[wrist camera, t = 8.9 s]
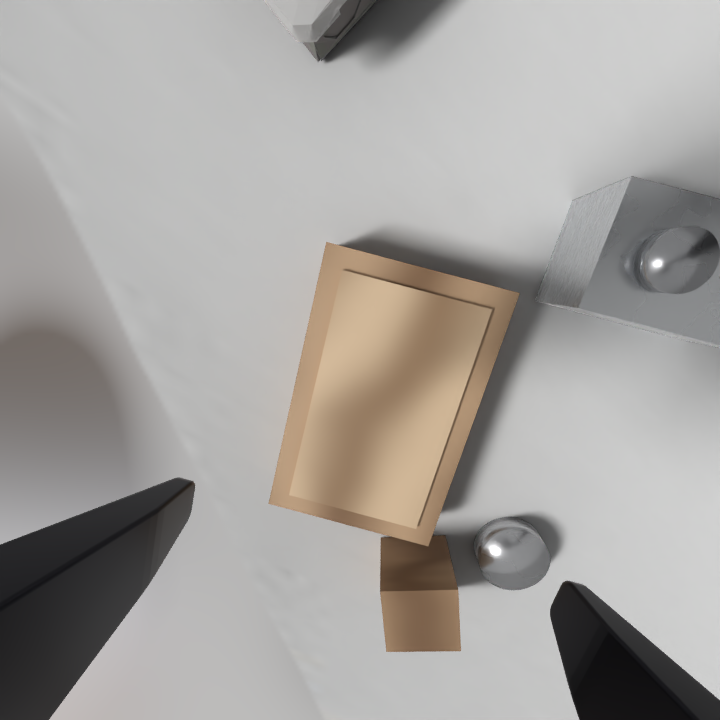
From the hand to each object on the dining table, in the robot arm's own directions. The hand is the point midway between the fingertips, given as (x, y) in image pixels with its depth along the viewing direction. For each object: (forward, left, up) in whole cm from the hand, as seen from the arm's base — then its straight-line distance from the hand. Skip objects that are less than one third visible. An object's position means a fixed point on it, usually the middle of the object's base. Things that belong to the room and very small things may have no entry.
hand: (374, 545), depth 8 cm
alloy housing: (-11, -9, -12) cm, 19 cm away
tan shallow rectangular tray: (0, 0, -12) cm, 12 cm away
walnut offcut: (-5, +11, -12) cm, 17 cm away
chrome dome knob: (-10, +8, -12) cm, 18 cm away
